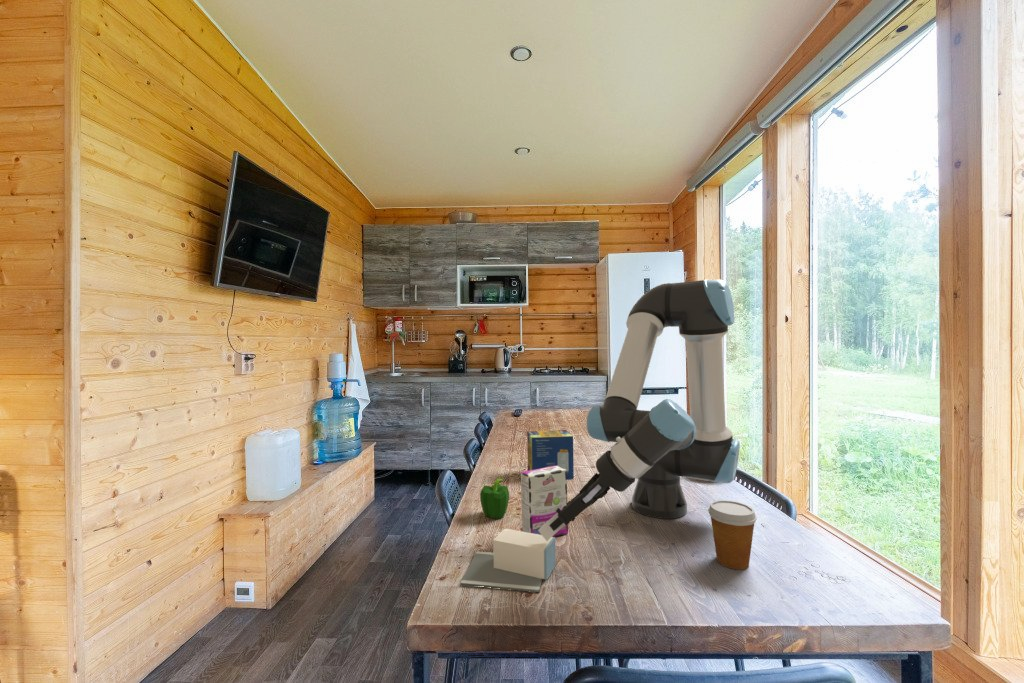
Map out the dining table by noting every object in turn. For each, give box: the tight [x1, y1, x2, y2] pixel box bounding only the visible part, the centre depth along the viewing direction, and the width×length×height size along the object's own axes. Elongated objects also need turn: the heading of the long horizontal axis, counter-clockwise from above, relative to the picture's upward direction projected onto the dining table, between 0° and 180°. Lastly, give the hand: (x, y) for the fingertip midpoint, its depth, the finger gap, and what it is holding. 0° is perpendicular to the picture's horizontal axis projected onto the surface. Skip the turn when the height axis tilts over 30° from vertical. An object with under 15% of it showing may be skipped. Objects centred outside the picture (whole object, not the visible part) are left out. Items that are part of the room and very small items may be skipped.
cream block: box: [492, 528, 557, 581], centre depth 92 cm, size 6×6×12 cm
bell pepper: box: [479, 478, 510, 520], centre depth 121 cm, size 8×8×10 cm
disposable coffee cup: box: [707, 499, 758, 570], centre depth 94 cm, size 10×10×12 cm
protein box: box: [526, 429, 575, 480], centre depth 156 cm, size 10×15×16 cm
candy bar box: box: [520, 466, 569, 538], centre depth 108 cm, size 11×5×16 cm, turn 118°
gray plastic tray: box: [459, 551, 543, 593], centre depth 91 cm, size 16×13×1 cm
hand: (543, 534), depth 90 cm, fingers closed
